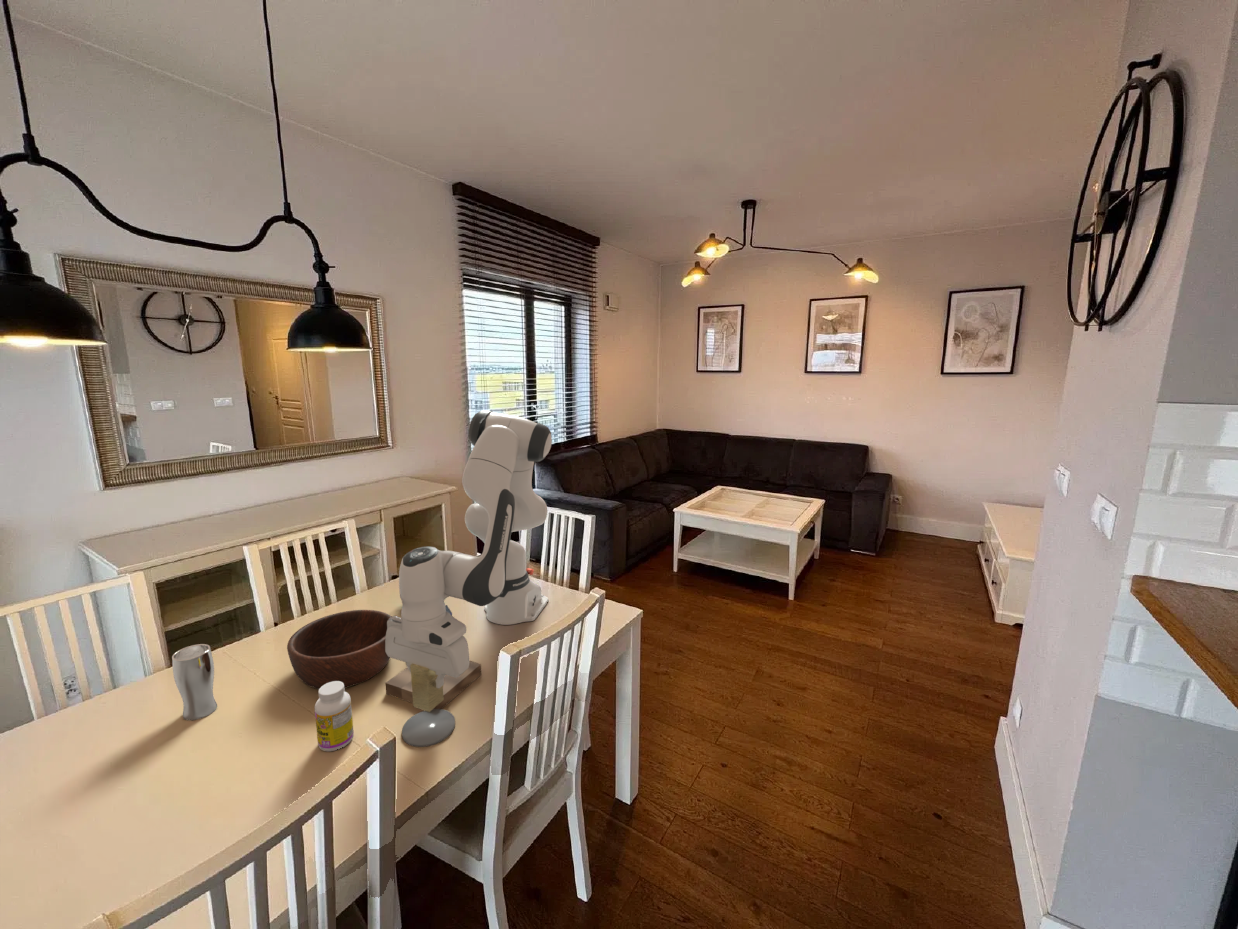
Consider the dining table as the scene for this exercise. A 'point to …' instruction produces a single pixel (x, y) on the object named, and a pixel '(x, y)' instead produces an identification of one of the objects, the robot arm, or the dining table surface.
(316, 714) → the supplement bottle
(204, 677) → the beer glass
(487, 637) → the dining table surface
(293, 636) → the wooden bowl
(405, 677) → the pocket
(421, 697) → the part
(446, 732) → the coaster
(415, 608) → the robot arm
